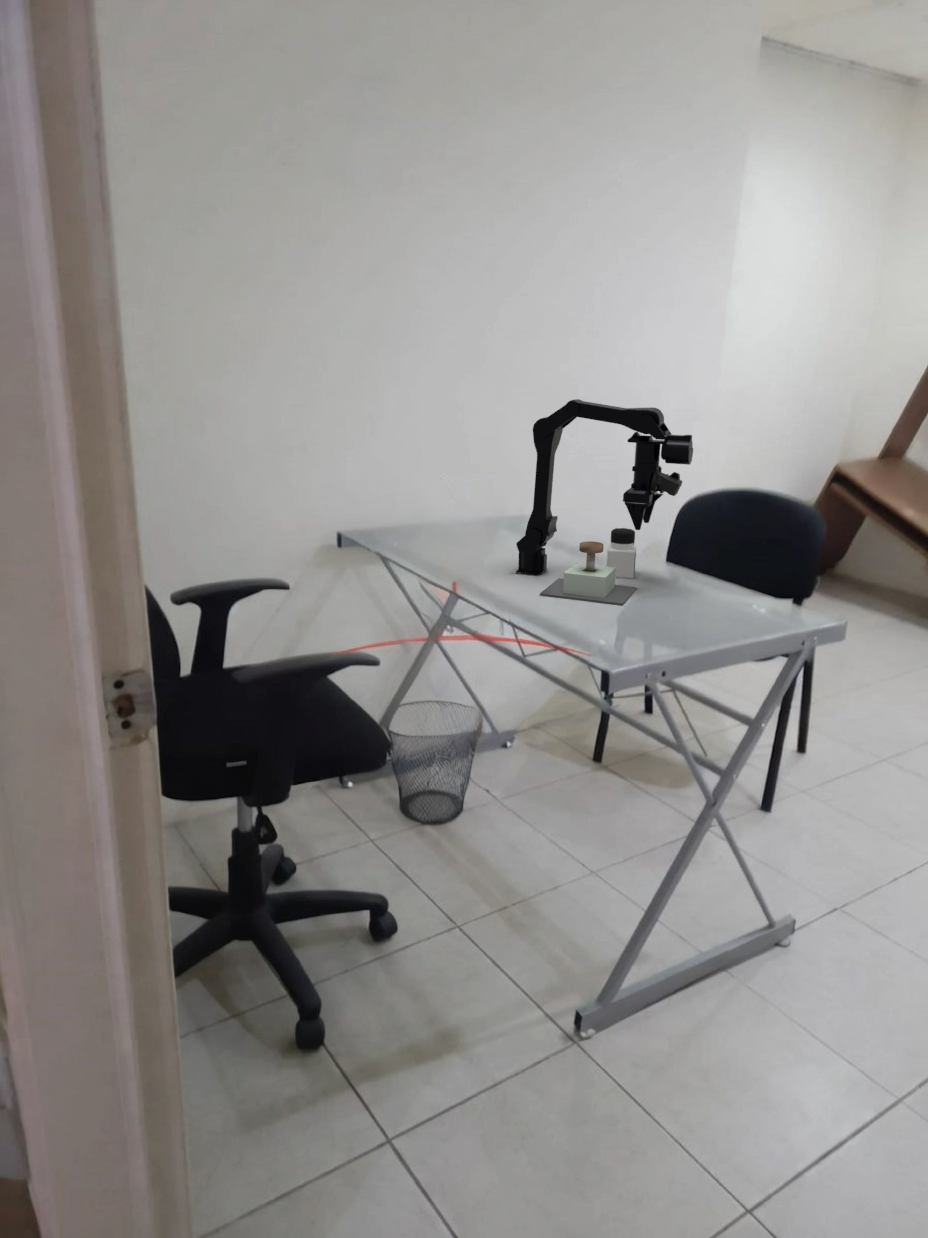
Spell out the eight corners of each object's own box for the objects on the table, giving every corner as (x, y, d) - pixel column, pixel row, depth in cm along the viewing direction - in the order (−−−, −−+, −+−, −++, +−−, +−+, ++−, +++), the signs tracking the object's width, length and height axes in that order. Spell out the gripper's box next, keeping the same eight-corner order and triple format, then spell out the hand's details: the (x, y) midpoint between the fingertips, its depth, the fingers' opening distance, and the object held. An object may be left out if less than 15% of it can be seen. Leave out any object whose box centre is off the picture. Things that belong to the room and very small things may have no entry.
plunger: (575, 572, 205) (576, 545, 203) (582, 566, 210) (583, 540, 208) (598, 574, 203) (600, 547, 201) (604, 569, 207) (606, 542, 205)
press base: (539, 595, 205) (540, 573, 203) (558, 580, 218) (559, 558, 216) (622, 605, 197) (624, 582, 196) (637, 589, 211) (638, 567, 209)
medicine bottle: (634, 578, 220) (637, 532, 216) (605, 577, 221) (608, 531, 217) (634, 571, 226) (637, 526, 223) (607, 570, 228) (609, 525, 224)
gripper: (673, 469, 194) (667, 537, 199) (688, 459, 211) (682, 522, 216) (624, 466, 199) (620, 532, 204) (642, 456, 215) (638, 518, 220)
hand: (642, 526), depth 211 cm, fingers open, 9 cm apart
